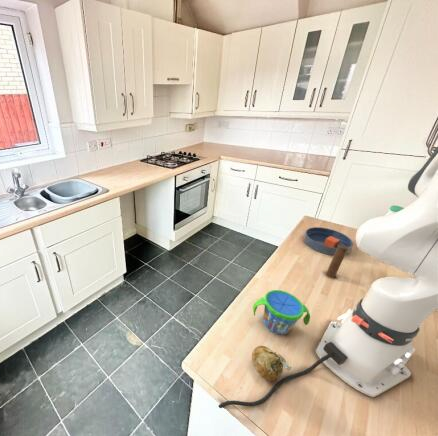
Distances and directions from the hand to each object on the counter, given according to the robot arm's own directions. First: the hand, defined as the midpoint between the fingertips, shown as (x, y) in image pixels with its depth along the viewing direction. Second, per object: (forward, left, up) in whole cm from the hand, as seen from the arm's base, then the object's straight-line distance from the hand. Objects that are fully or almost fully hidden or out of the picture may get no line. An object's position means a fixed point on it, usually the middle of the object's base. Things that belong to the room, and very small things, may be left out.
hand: (376, 247), depth 86 cm
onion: (-60, -3, -16) cm, 62 cm away
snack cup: (-45, +4, -16) cm, 48 cm away
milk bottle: (+34, +6, -16) cm, 38 cm away
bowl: (+14, +19, -16) cm, 28 cm away
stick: (-6, +7, -16) cm, 18 cm away
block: (+14, +17, -15) cm, 27 cm away
